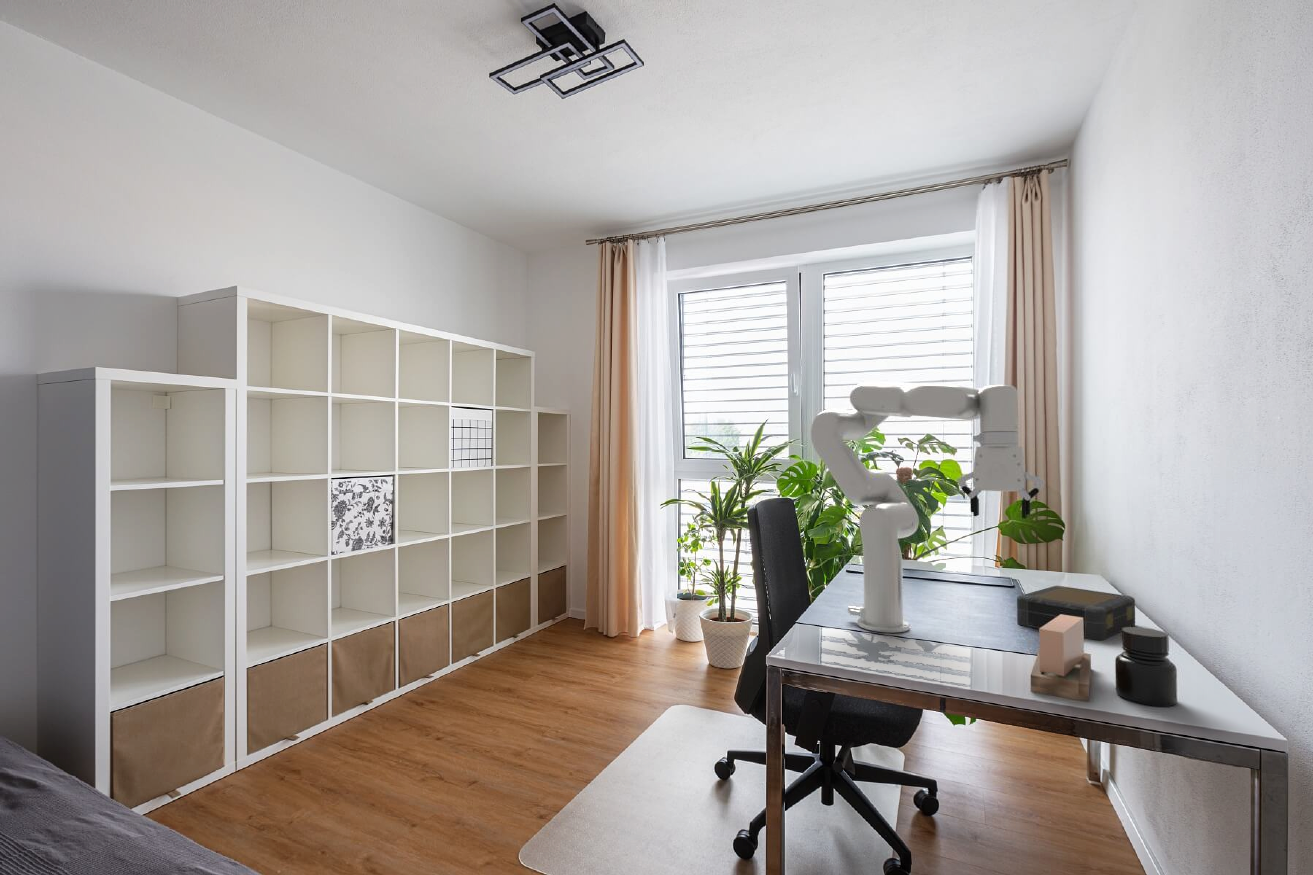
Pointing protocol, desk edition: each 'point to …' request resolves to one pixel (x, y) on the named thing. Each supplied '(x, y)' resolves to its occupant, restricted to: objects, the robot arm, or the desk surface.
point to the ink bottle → (1146, 668)
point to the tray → (1064, 680)
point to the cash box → (1078, 610)
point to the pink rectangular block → (1061, 644)
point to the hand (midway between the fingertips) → (999, 516)
